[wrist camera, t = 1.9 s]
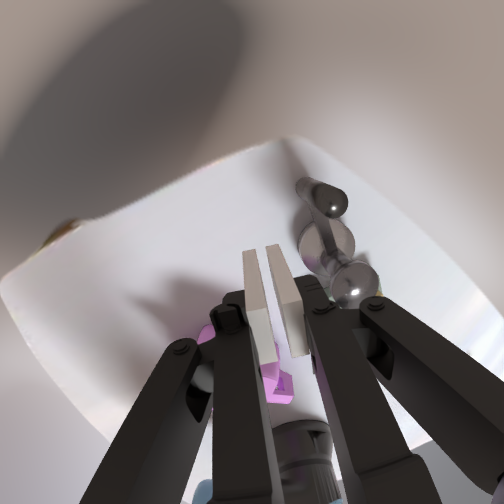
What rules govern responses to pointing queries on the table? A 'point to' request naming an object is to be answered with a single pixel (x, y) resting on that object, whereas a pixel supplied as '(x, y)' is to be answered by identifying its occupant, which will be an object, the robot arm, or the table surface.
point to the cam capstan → (333, 245)
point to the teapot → (265, 374)
